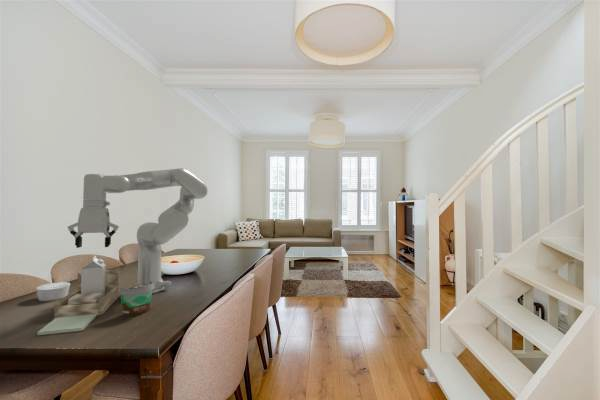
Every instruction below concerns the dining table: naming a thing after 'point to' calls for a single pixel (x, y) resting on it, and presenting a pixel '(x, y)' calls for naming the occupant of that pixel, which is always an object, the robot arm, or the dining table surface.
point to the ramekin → (52, 291)
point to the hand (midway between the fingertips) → (93, 247)
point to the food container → (136, 299)
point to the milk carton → (93, 277)
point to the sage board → (67, 324)
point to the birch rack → (93, 308)
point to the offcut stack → (85, 298)
